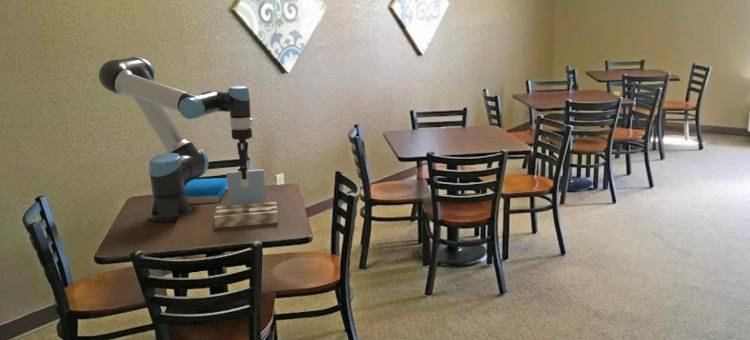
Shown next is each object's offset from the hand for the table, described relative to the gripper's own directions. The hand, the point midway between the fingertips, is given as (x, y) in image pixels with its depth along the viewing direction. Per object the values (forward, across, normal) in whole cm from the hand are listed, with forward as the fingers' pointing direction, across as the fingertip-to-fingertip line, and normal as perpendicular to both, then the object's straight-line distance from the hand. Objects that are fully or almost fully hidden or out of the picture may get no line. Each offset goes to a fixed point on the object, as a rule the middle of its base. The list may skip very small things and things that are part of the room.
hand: (245, 182), depth 232 cm
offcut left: (+10, -18, +5) cm, 21 cm away
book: (+13, +26, +18) cm, 35 cm away
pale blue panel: (+12, 0, 0) cm, 12 cm away
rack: (+11, -15, 0) cm, 19 cm away
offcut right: (+10, -18, -5) cm, 21 cm away
